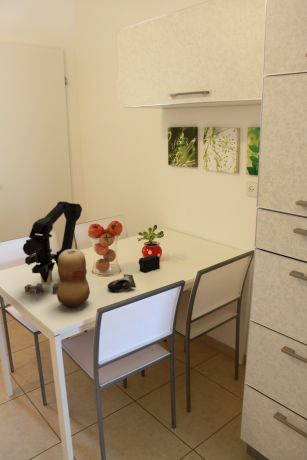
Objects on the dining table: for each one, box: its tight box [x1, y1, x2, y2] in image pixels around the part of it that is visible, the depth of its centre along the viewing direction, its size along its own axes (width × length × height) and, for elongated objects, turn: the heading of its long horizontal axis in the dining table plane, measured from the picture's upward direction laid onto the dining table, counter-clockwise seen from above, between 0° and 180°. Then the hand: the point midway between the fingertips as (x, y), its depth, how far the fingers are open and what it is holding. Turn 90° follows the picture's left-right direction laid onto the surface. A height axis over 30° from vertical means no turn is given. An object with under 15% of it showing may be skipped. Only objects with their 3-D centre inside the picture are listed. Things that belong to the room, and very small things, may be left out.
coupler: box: [40, 269, 54, 286], centre depth 181 cm, size 4×4×6 cm
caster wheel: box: [107, 273, 137, 293], centre depth 183 cm, size 7×11×10 cm
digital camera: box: [138, 254, 161, 274], centre depth 208 cm, size 10×5×7 cm, turn 127°
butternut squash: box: [56, 248, 91, 308], centre depth 165 cm, size 14×13×25 cm
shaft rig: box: [23, 282, 60, 295], centre depth 182 cm, size 22×4×4 cm, turn 87°
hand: (46, 280), depth 181 cm, fingers closed on coupler, 4 cm apart
